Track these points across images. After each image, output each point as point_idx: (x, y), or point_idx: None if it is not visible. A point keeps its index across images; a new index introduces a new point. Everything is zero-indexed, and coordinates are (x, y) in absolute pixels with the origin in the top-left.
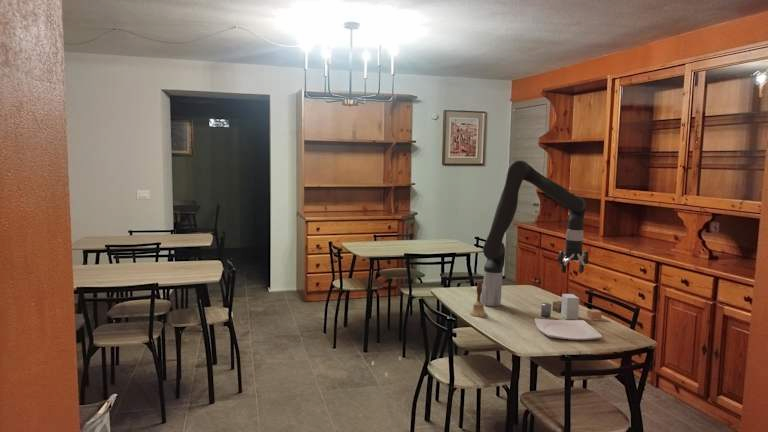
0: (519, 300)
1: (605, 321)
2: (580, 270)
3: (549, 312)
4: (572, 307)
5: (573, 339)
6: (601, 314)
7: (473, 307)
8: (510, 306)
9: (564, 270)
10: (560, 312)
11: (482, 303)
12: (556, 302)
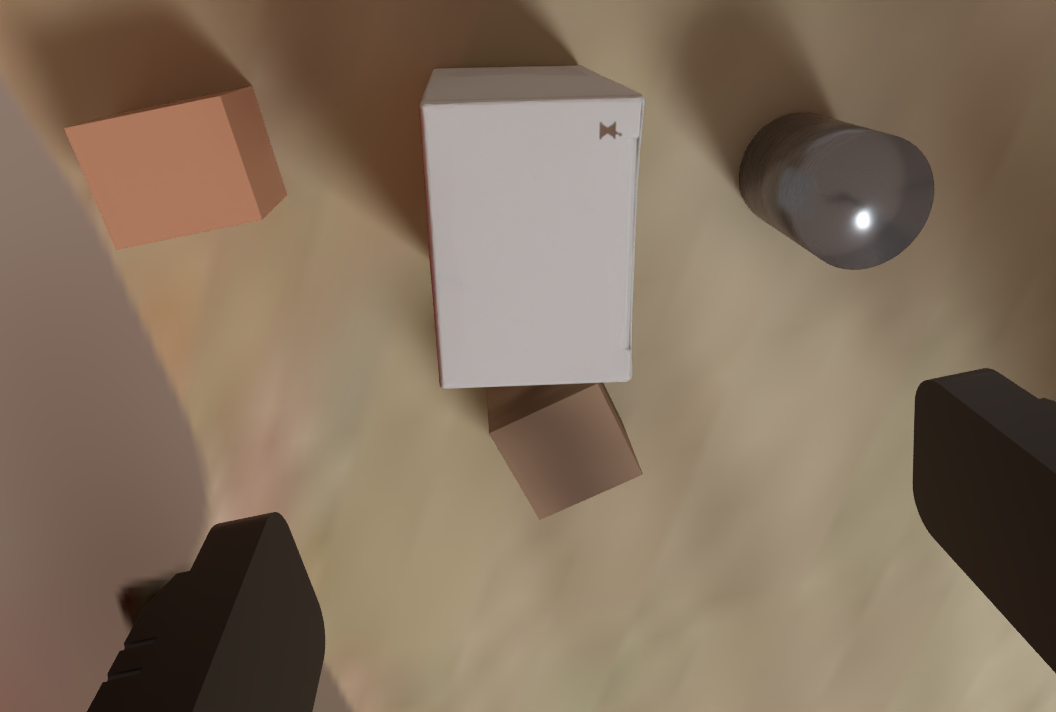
0: (832, 683)
1: (67, 48)
2: (275, 609)
3: (800, 130)
4: (527, 76)
5: None
6: (84, 123)
7: None
8: None
9: (1049, 411)
10: None
11: None
12: (608, 452)
